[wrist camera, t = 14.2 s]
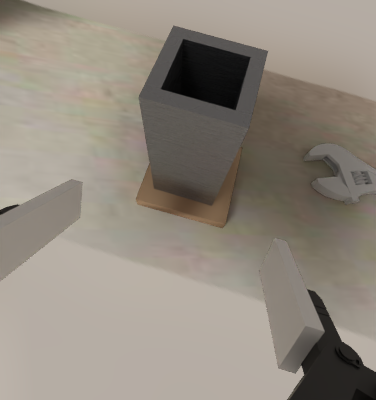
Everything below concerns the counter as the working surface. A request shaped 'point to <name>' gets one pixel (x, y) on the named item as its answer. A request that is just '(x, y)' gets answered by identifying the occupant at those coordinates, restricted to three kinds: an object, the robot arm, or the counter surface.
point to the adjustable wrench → (342, 174)
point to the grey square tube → (198, 111)
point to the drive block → (188, 207)
